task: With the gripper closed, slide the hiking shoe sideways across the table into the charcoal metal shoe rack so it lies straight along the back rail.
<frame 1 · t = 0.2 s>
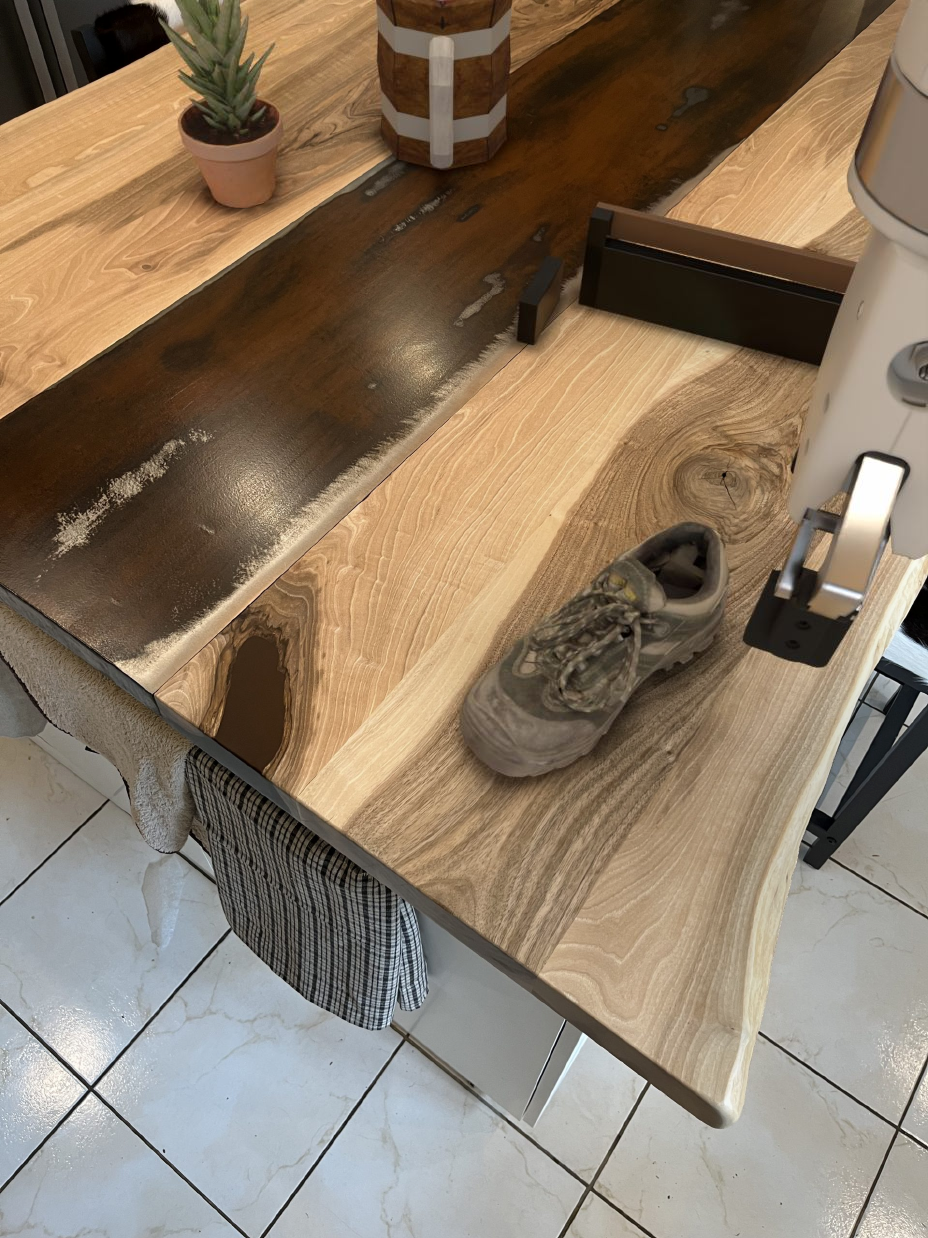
hand: (805, 559, 39), 22 cm above the table, tool pointing down, fingers open, 9 cm apart
hiking shoe: (592, 677, 61), on the table
potted plant: (245, 193, 94), on the table
mug: (443, 153, 99), on the table
shoe rack: (696, 372, 79), on the table
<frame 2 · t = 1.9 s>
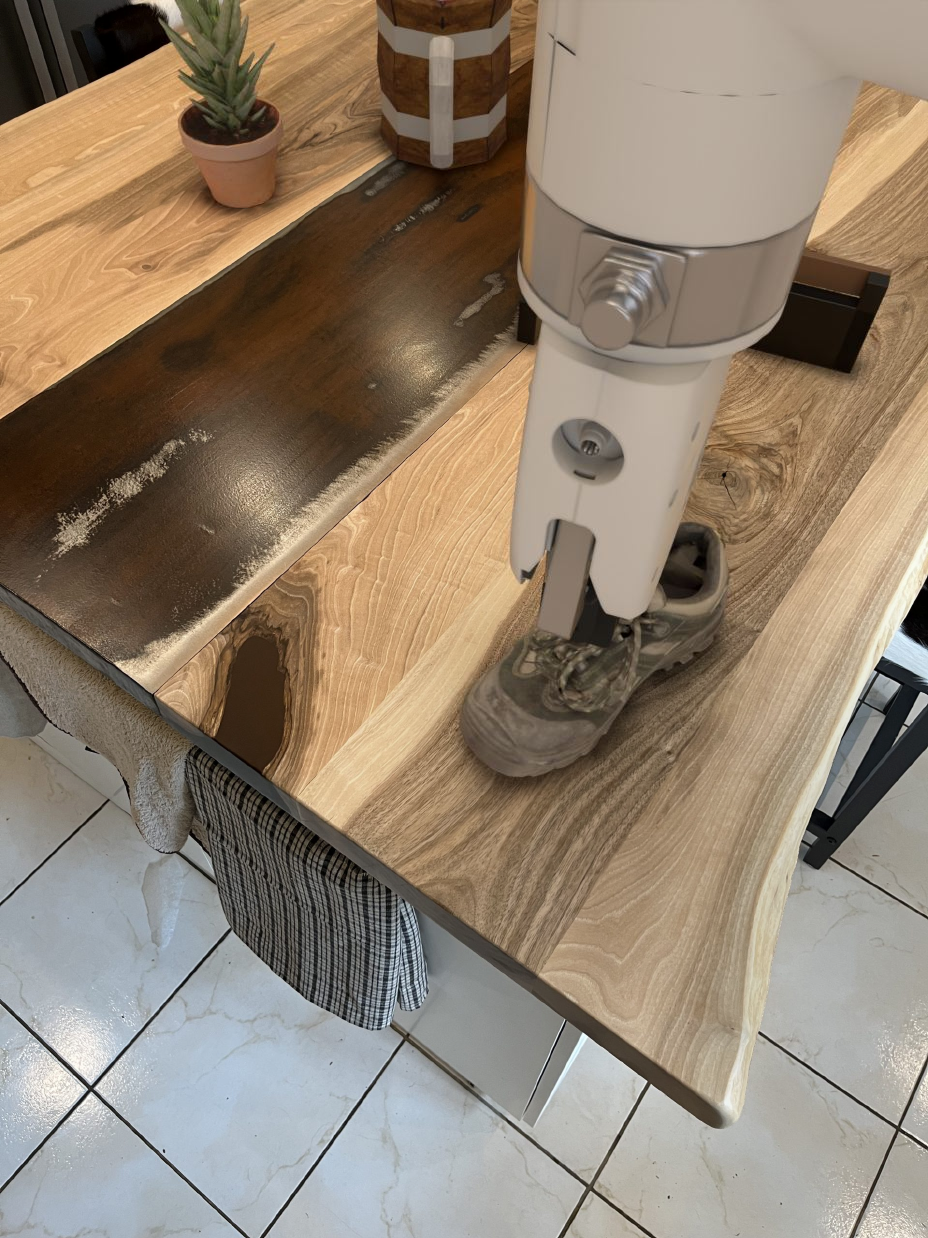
hand: (578, 623, 40), 19 cm above the table, tool pointing down, fingers closed
nothing on the table moved.
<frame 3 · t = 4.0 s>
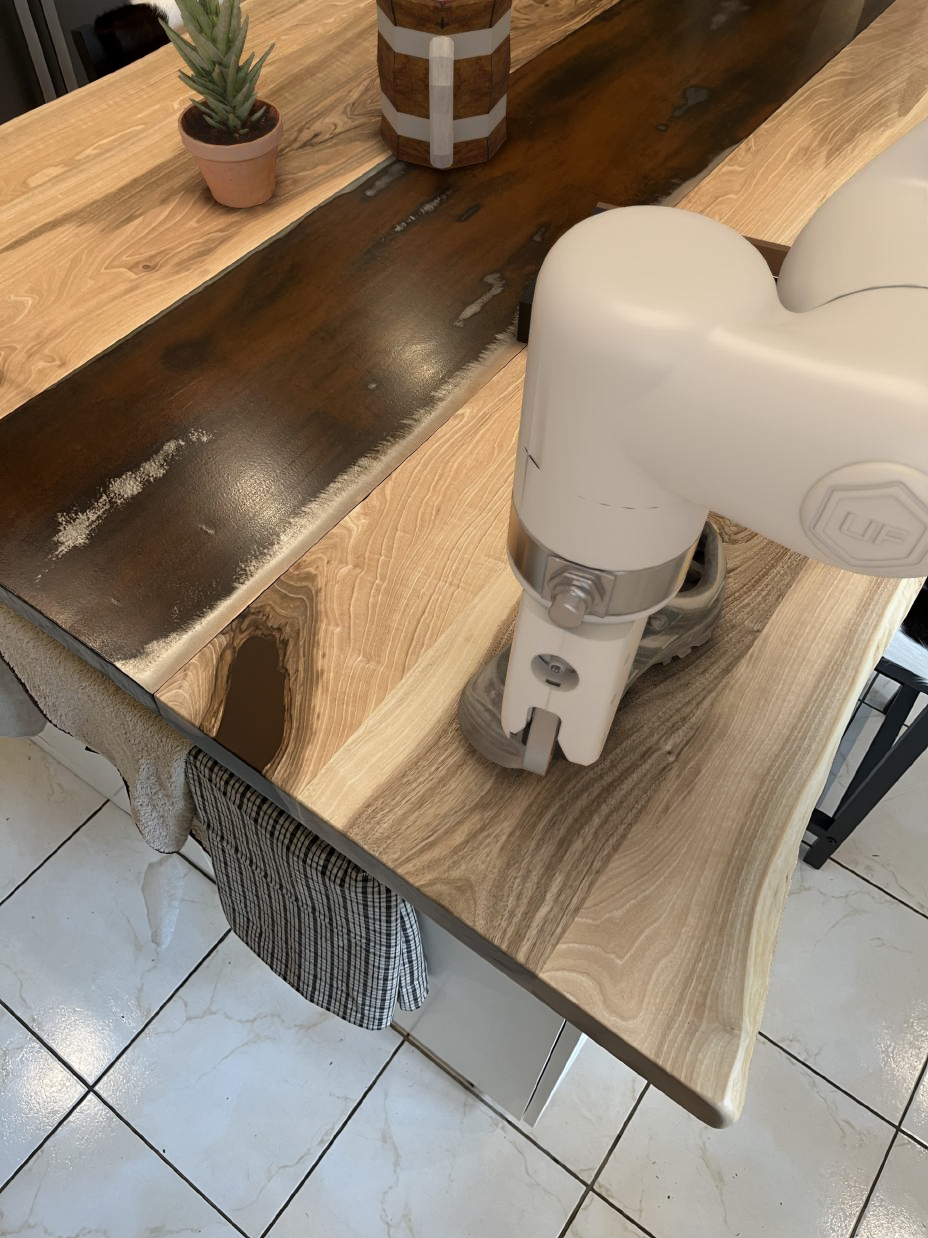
hand: (552, 742, 53), 5 cm above the table, tool pointing down, fingers closed
hiking shoe: (590, 671, 61), on the table, touching gripper
everything else where it was.
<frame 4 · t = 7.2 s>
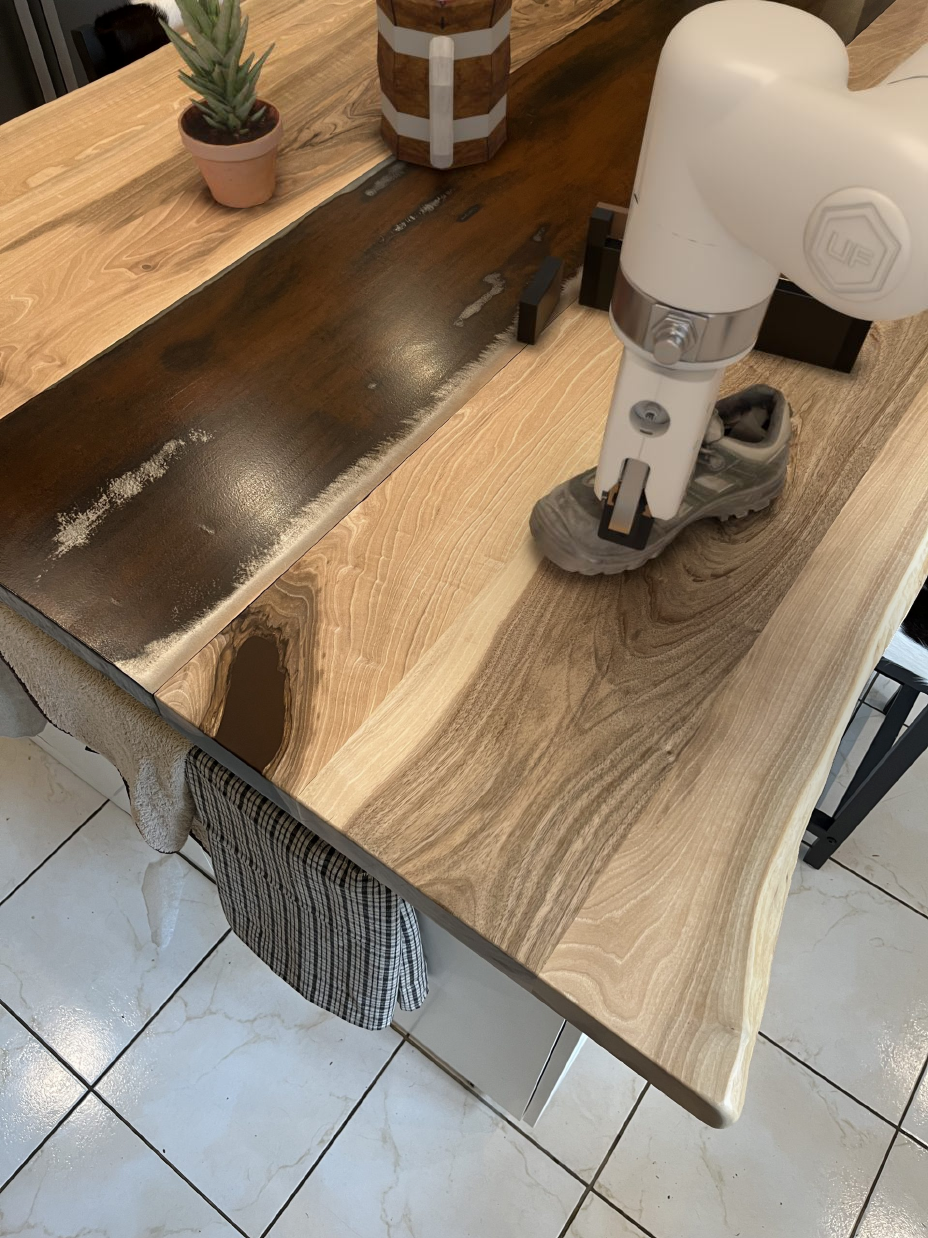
hand: (623, 535, 61), 5 cm above the table, tool pointing down, fingers closed
hiking shoe: (654, 516, 69), on the table, touching gripper
everything else where it was.
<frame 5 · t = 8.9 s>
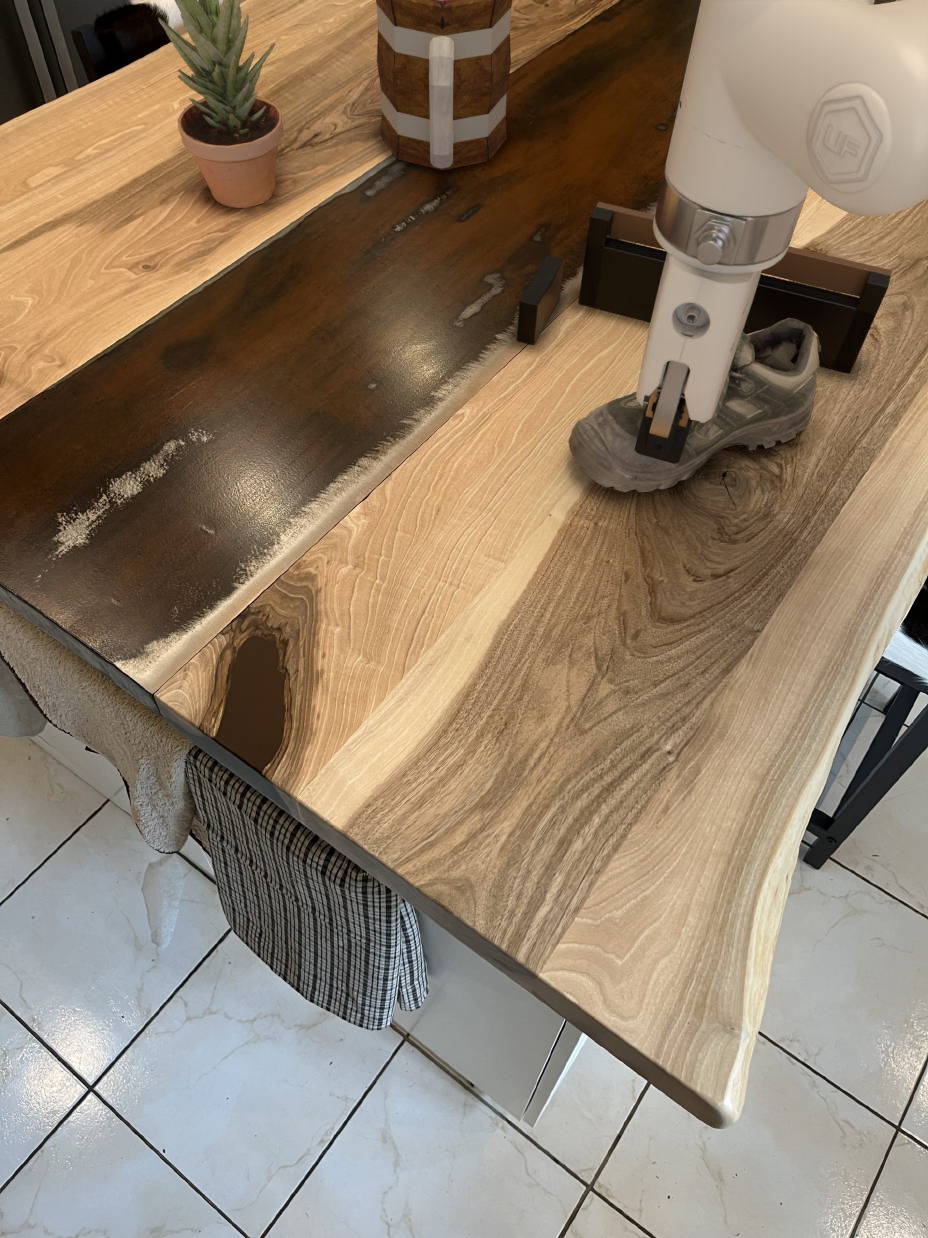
hand: (658, 450, 66), 5 cm above the table, tool pointing down, fingers closed
hiking shoe: (686, 444, 74), on the table, touching gripper
everything else where it was.
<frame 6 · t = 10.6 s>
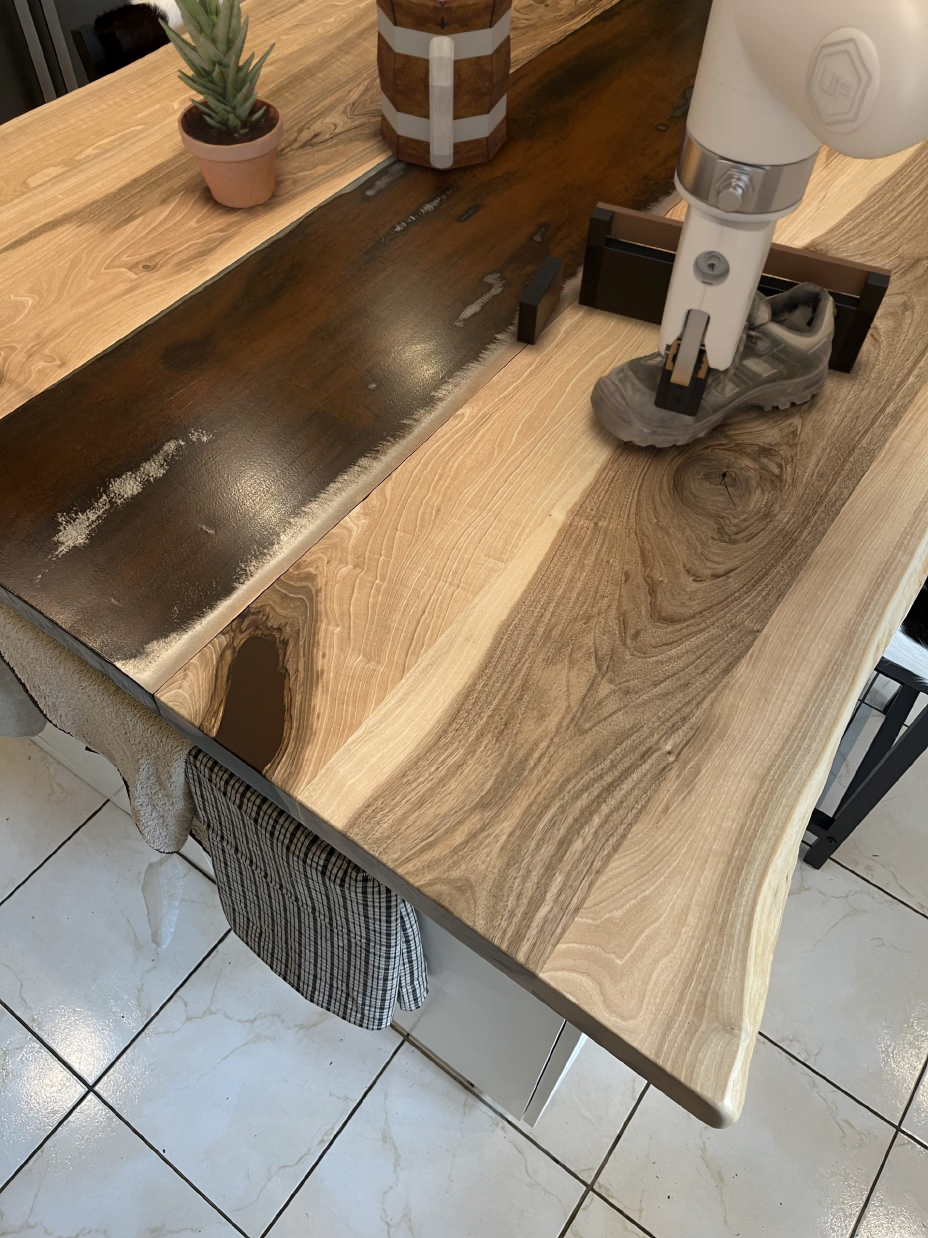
hand: (677, 404, 69), 5 cm above the table, tool pointing down, fingers closed
hiking shoe: (704, 404, 77), on the table, touching gripper, shoe rack
everything else where it was.
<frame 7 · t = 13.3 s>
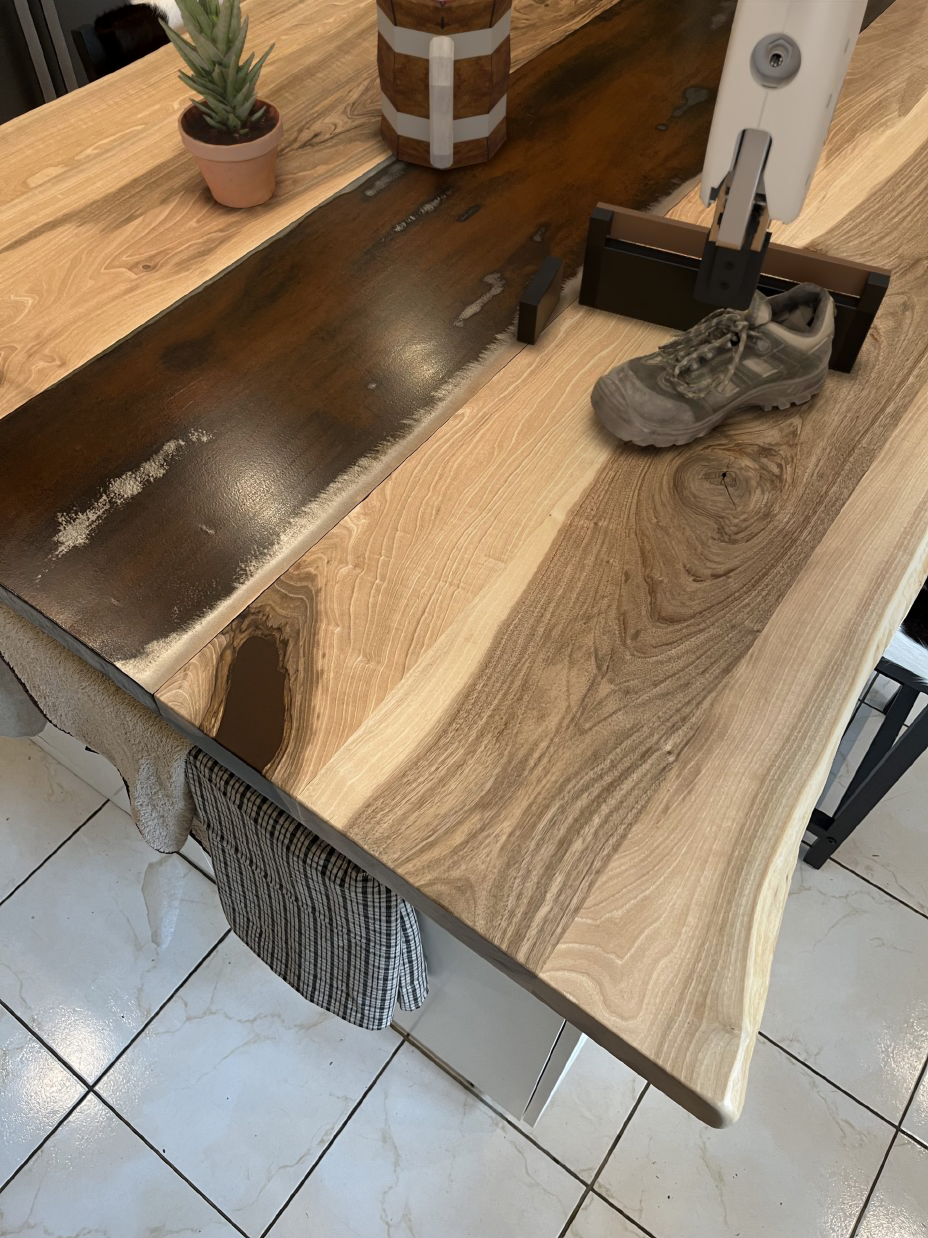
hand: (723, 297, 54), 19 cm above the table, tool pointing down, fingers closed
hiking shoe: (704, 404, 77), on the table
everything else where it was.
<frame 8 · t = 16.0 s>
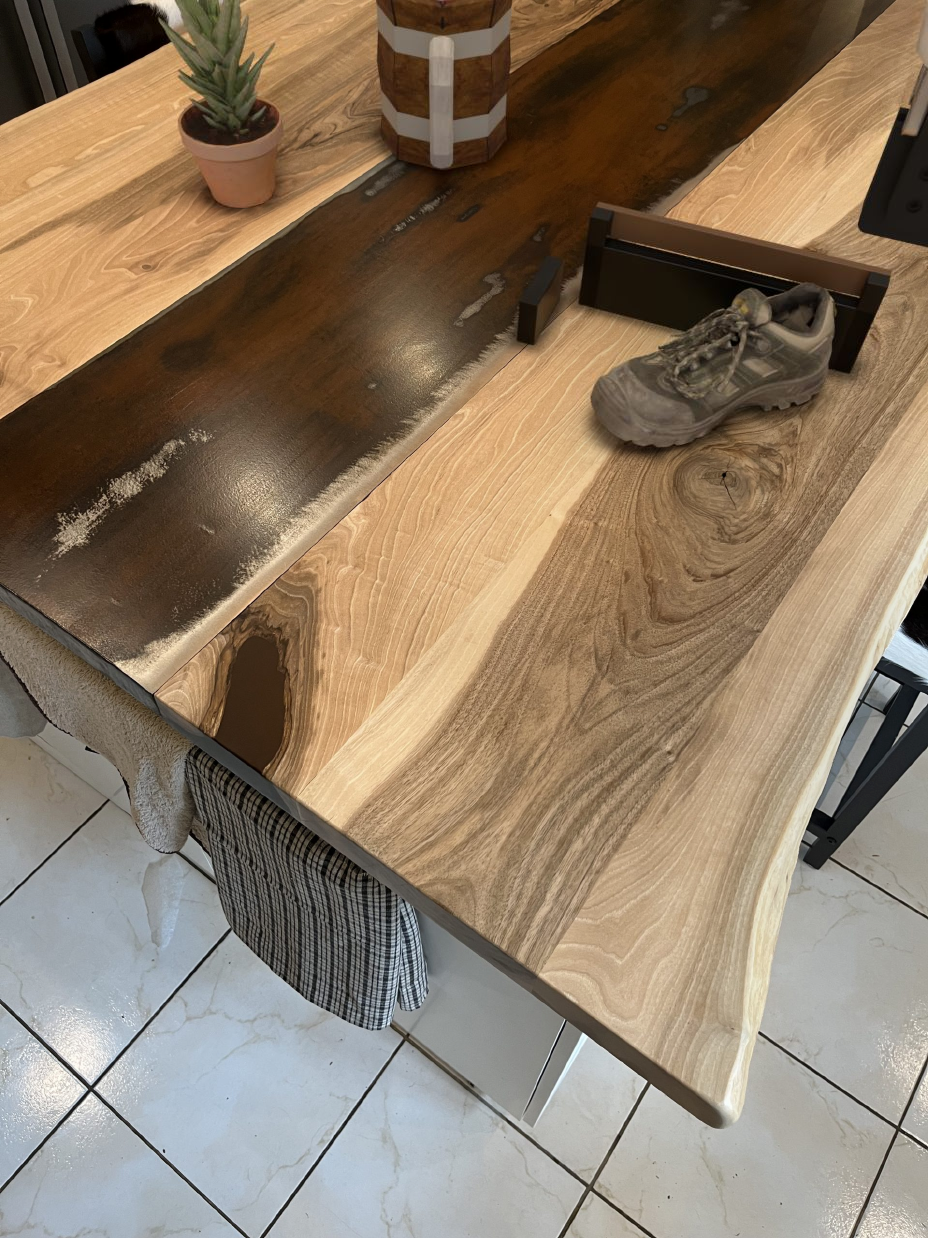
hand: (899, 228, 36), 31 cm above the table, tool pointing down, fingers closed
nothing on the table moved.
at the end: hiking shoe inside the target area on the shoe rack (3.2 cm from its centre), point 0.0 cm above the shoe rack's base; hiking shoe tilted 0° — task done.
